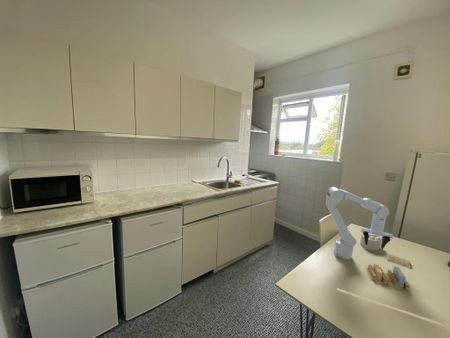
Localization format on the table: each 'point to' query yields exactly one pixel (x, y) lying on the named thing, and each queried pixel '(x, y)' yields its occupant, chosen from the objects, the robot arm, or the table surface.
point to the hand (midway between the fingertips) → (373, 246)
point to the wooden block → (377, 272)
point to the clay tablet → (398, 261)
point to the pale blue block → (399, 276)
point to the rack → (387, 279)
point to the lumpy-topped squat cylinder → (371, 242)
